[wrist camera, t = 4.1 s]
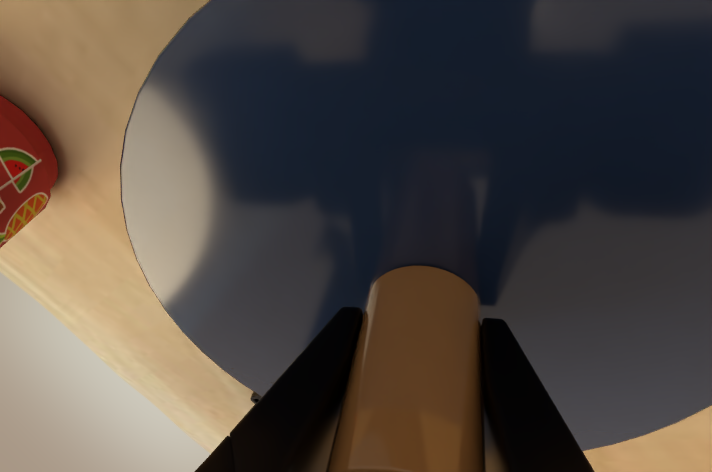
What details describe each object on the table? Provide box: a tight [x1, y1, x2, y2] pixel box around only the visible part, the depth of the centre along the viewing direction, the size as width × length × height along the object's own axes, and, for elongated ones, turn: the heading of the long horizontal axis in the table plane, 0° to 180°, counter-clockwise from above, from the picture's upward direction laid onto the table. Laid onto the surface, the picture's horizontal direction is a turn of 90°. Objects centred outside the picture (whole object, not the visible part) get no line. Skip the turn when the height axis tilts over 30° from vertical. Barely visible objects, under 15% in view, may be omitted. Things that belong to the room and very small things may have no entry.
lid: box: [120, 0, 712, 472], centre depth 8 cm, size 14×14×5 cm
